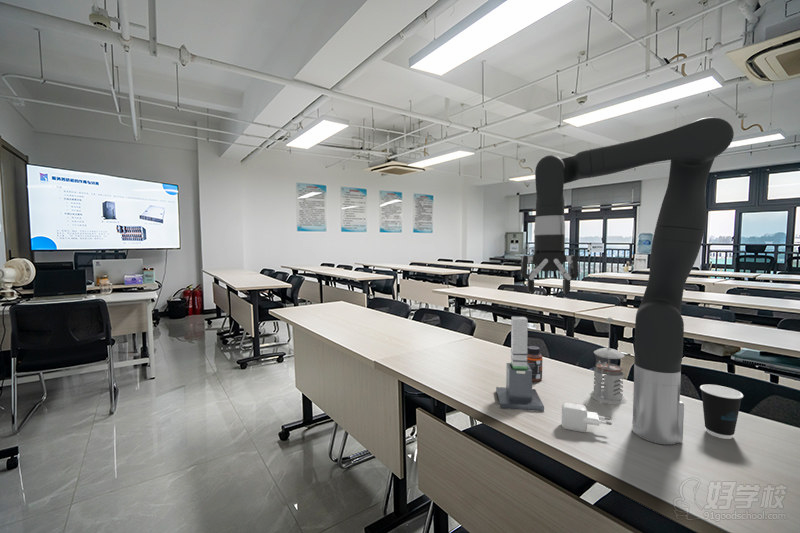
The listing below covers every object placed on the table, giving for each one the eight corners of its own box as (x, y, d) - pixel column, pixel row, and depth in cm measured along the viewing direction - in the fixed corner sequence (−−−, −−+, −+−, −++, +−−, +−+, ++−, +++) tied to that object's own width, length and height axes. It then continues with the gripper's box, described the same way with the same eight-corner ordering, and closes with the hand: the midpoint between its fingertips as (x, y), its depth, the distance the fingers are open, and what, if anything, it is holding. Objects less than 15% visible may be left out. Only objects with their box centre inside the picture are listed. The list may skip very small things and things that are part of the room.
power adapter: (609, 429, 90) (609, 407, 89) (612, 439, 85) (612, 416, 85) (561, 421, 94) (561, 400, 94) (561, 430, 90) (562, 407, 89)
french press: (631, 398, 108) (634, 317, 106) (615, 409, 101) (618, 323, 99) (598, 388, 116) (600, 313, 114) (581, 397, 109) (582, 317, 107)
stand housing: (535, 393, 112) (535, 361, 111) (543, 411, 100) (544, 375, 99) (496, 391, 114) (496, 359, 113) (500, 408, 102) (500, 373, 101)
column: (524, 374, 108) (525, 316, 107) (527, 379, 104) (528, 319, 103) (510, 373, 109) (511, 316, 108) (512, 378, 105) (513, 319, 104)
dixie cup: (705, 422, 93) (706, 381, 92) (746, 436, 86) (748, 392, 86) (692, 431, 89) (694, 388, 88) (734, 446, 82) (737, 400, 81)
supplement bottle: (543, 382, 121) (544, 350, 120) (525, 381, 122) (525, 349, 121) (540, 376, 127) (540, 345, 126) (523, 375, 128) (523, 344, 127)
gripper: (524, 233, 92) (523, 295, 93) (582, 232, 89) (581, 296, 90) (519, 234, 99) (518, 291, 100) (573, 233, 97) (572, 292, 98)
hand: (548, 293), depth 95 cm, fingers open, 8 cm apart
